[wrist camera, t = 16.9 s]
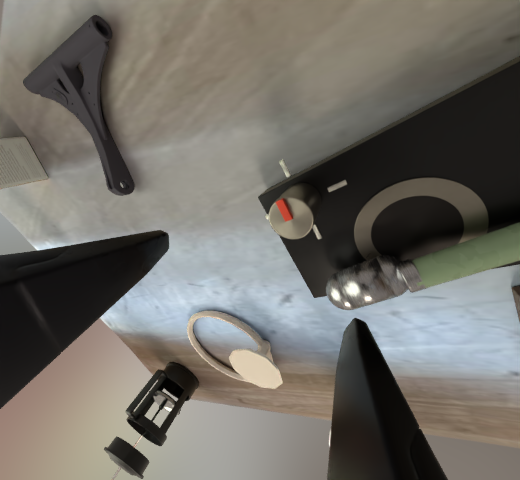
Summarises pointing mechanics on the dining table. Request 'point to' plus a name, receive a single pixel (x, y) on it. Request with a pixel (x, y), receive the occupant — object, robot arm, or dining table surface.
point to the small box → (18, 163)
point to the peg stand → (517, 298)
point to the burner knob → (295, 211)
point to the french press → (176, 384)
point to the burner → (419, 218)
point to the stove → (414, 168)
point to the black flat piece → (84, 92)
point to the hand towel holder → (242, 354)
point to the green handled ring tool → (421, 269)
